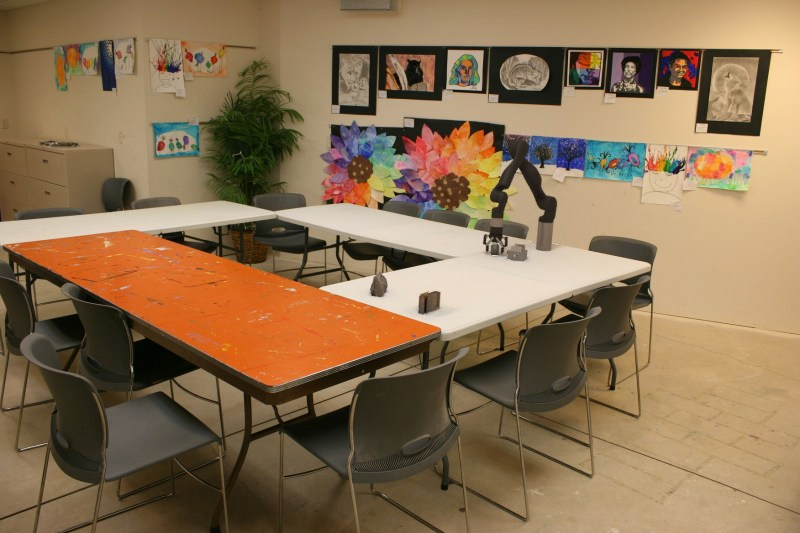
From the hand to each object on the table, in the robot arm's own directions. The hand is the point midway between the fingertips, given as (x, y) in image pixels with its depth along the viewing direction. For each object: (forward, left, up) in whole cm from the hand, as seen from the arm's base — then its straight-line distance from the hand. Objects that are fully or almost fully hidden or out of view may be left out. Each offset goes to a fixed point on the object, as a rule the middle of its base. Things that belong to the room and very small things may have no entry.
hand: (494, 252), depth 392 cm
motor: (+3, +13, -1) cm, 13 cm away
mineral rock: (+111, -21, -2) cm, 113 cm away
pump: (0, 0, -2) cm, 2 cm away
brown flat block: (+125, +8, -2) cm, 125 cm away
